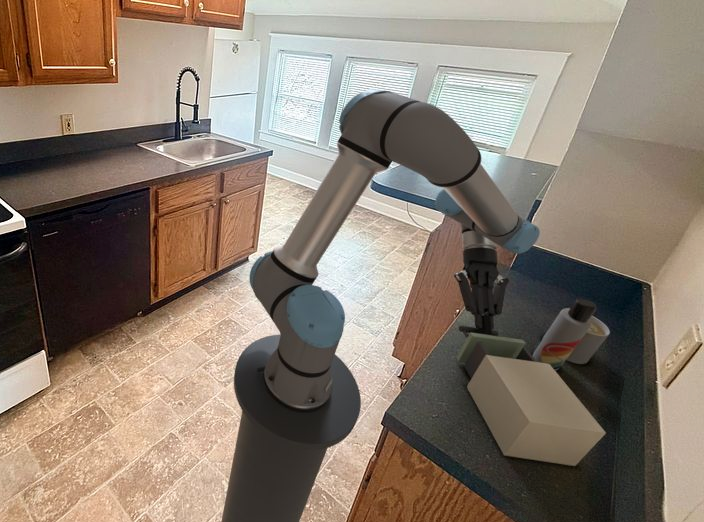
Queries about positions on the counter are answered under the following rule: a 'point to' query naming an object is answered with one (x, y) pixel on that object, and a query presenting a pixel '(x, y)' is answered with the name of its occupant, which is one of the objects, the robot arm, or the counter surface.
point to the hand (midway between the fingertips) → (485, 342)
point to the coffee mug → (588, 341)
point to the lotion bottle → (565, 334)
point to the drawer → (489, 348)
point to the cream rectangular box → (533, 411)
